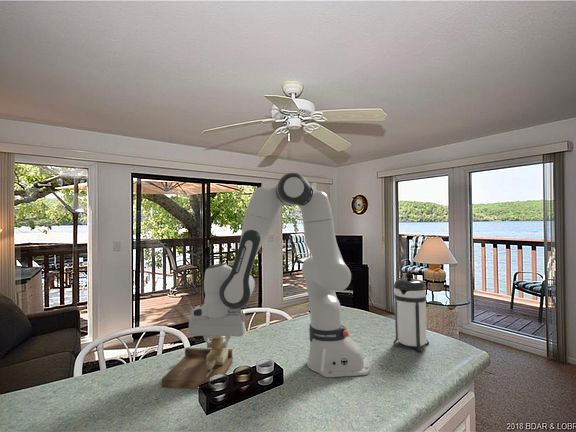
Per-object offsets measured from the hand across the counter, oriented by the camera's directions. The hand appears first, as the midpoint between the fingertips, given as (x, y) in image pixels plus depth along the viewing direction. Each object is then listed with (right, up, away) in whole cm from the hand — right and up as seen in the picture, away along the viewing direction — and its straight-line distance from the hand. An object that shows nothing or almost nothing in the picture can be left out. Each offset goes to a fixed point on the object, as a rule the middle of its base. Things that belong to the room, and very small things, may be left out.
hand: (217, 347), depth 108 cm
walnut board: (-5, -8, -4) cm, 10 cm away
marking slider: (0, -5, -3) cm, 6 cm away
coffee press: (+78, -7, +19) cm, 80 cm away
